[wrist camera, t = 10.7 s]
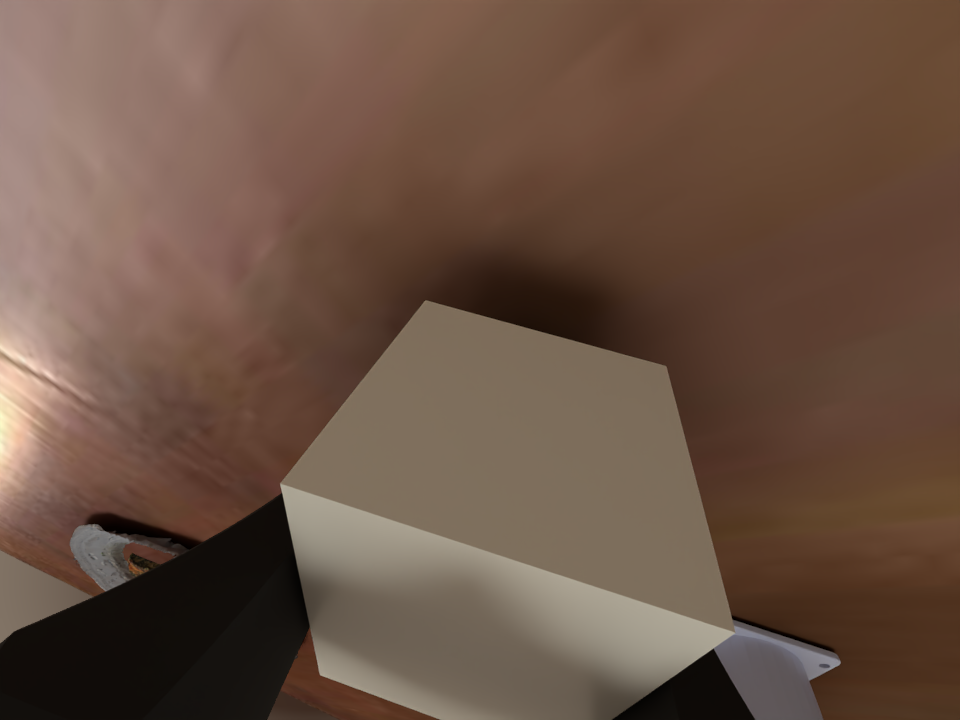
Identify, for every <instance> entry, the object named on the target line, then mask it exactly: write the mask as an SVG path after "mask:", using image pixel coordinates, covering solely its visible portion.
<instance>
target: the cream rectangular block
mask: <svg viewBox="0 0 960 720" xmlns="http://www.w3.org/2000/svg"><path fill="white" fill-rule="evenodd" d="M280 485H281V489H282V494H283V499H284V504H285V509H286V513H287V518H288V523H289V528H290V533H291V538H292V542H293V547H294V552H295V557H296V562H297V566H298V571H299V576H300V581H301V586H302V590H303V595H304V600H305V605H306V610H307V615H308V619H309V624H310V629H311V634H312V639H313V643H314V648H315V653H316V658H317V663H318V667H319V672H320V675H321V676H324V677H327V678H330V679H332V680H335V681H338V682H340V683H343V684H346V685H348V686H351V687H354V688H357V689H359V690H362V691H365V692H367V693H370V694H373V695H375V696H378V697H381V698H384V699H386V700H389V701H392V702H394V703H397V704H400V705H402V706H405V707H408V708H411V709H413V710H416V711H419V712H421V713H424V714H427V715H430V716H432V717H435V718H438V719H440V720H612V719H613V718H615V717H616V716H618V715H619V714H621V713H622V712H623V711H625V710H626V709H628V708H629V707H631V706H632V705H633V704H635V703H636V702H638V701H639V700H641V699H642V698H643V697H645V696H646V695H648V694H649V693H651V692H652V691H653V690H655V689H656V688H658V687H659V686H660V685H662V684H663V683H665V682H666V681H668V680H669V679H670V678H672V677H673V676H675V675H676V674H678V673H679V672H680V671H682V670H683V669H685V668H686V667H688V666H689V665H690V664H692V663H693V662H695V661H696V660H698V659H699V658H700V657H702V656H703V655H705V654H706V653H708V652H709V651H710V650H712V649H713V648H715V647H716V646H718V645H719V644H720V643H722V642H723V641H725V640H726V639H728V638H729V637H730V636H732V635H733V634H735V633H736V632H735V628H734V624H733V620H732V617H731V613H730V609H729V605H728V601H727V597H726V593H725V590H724V586H723V582H722V578H721V574H720V570H719V567H718V563H717V559H716V555H715V551H714V547H713V544H712V540H711V536H710V532H709V528H708V524H707V521H706V517H705V513H704V509H703V505H702V501H701V497H700V494H699V490H698V486H697V482H696V478H695V474H694V471H693V467H692V463H691V459H690V455H689V451H688V448H687V444H686V440H685V436H684V432H683V428H682V425H681V421H680V417H679V413H678V409H677V405H676V402H675V398H674V394H673V390H672V386H671V382H670V378H669V375H668V371H667V367H666V366H664V365H660V364H657V363H653V362H649V361H646V360H642V359H638V358H635V357H631V356H627V355H624V354H620V353H616V352H613V351H609V350H606V349H602V348H598V347H595V346H591V345H587V344H584V343H580V342H576V341H573V340H569V339H565V338H562V337H558V336H554V335H551V334H547V333H543V332H540V331H536V330H532V329H529V328H525V327H521V326H518V325H514V324H510V323H507V322H503V321H500V320H496V319H492V318H489V317H485V316H481V315H478V314H474V313H470V312H467V311H463V310H459V309H456V308H452V307H448V306H445V305H441V304H437V303H434V302H430V301H426V300H425V301H424V303H423V304H422V305H421V306H420V308H419V309H418V310H417V312H416V313H415V314H414V315H413V317H412V318H411V319H410V320H409V322H408V323H407V324H406V325H405V327H404V328H403V329H402V330H401V332H400V333H399V334H398V336H397V337H396V338H395V339H394V341H393V342H392V343H391V344H390V346H389V347H388V348H387V349H386V351H385V352H384V353H383V355H382V356H381V357H380V358H379V360H378V361H377V362H376V363H375V365H374V366H373V367H372V368H371V370H370V371H369V372H368V373H367V375H366V376H365V377H364V379H363V380H362V381H361V382H360V384H359V385H358V386H357V387H356V389H355V390H354V391H353V392H352V394H351V395H350V396H349V397H348V399H347V400H346V401H345V403H344V404H343V405H342V406H341V408H340V409H339V410H338V411H337V413H336V414H335V415H334V416H333V418H332V419H331V420H330V421H329V423H328V424H327V425H326V427H325V428H324V429H323V430H322V432H321V433H320V434H319V435H318V437H317V438H316V439H315V440H314V442H313V443H312V444H311V445H310V447H309V448H308V449H307V451H306V452H305V453H304V454H303V456H302V457H301V458H300V459H299V461H298V462H297V463H296V464H295V466H294V467H293V468H292V470H291V471H290V472H289V473H288V475H287V476H286V477H285V478H284V480H283V481H282V482H281V483H280Z"/></svg>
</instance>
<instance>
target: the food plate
mask: <svg viewBox="0 0 960 720" xmlns="http://www.w3.org/2000/svg"><path fill="white" fill-rule="evenodd" d="M98 529H99V530H98ZM102 530H103V529H102V528H101V526H99V525H98V524H97V525H95V524H92V525H91V524H89V525H86V524H85V525H82V526H81V525H80V526H79V527H78V528H76V529H75V532H74V533H73V536H72V538H71V541H70V542H71V543H70V546H71V551H72V552H73V554H74V556H75V559H77V560H78V563H80V567H81V568H82V570H84V571H86V574H88V575H89V576H90V577H91V578H93V579H94V580H95V582H97V584H98V585H99V586H100V587H101V588H103V589H104V590H105V591H108V590H110V589H112V588H114V587H116V586H118V585H121V584H123V583H125V582H127V581H129V580H131V579H133V578H135V577H137V576H139V575H141V574H143V573H145V572H147V571H149V570H151V569H153V568H155V567H157V566H159V565H160V564H157V563H155V562H152V561H149V560H147V559H145V558H142V557H139V556H137V555H135V554H131V555H130V558H129V560H128V562H127V561H126V560H124V557H123V556H124V555H123V553H122V551H123V549H122V548H124V547H125V544H129V543H130V542H135V543H137V544H141V545H145V546H146V545H147V547H150V546H151V547H150V548H154V549H157V550H160V551H162V552H164V553H165V552H168V553H170V554H172V555H174V554H176V557H177V556H179V555H181V554H182V553H184V552H186V551H188V550H189V549H187V548H185V547H184V546H182V545H181V544H174V543H172V542H171V541H170V540H171V538H155V537H146V536H144V535H138V534H132V535H128V534H126V533H124V534H116V533H115V532H116V531H113V532H106V531H104V530H103V531H102ZM75 559H73V560H75ZM128 563H129V564H128ZM297 654H298V653H297ZM297 657H298V656H297V655H296V657H295V659H296V658H297Z"/></svg>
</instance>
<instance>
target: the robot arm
mask: <svg viewBox="0 0 960 720" xmlns="http://www.w3.org/2000/svg"><path fill="white" fill-rule="evenodd" d="M733 624H734V628H735V632H736V633H735V634H733V635H732V636H730V637H729V638H728V639H726V640H725V641H723V642H722V643H720V644H719V645H718V646H716V647H715V648H713V649H712V650H710V651H709V652H708V653H706V654H705V655H703V656H702V657H700V658H699V659H698V660H696V661H695V662H693V663H692V664H690V665H689V666H688V667H686V668H685V669H683V670H682V671H680V672H679V673H678V674H676V675H675V676H673V677H672V678H670V679H669V680H668V681H666V682H665V683H663V684H662V685H660V686H659V687H658V688H656V689H655V690H653V691H652V692H651V693H649V694H648V695H646V696H645V697H643V698H642V699H641V700H639V701H638V702H636V703H635V704H633V705H632V706H631V707H629V708H628V709H626V710H625V711H623V712H622V713H621V714H619V715H618V716H616V717H615V718H613V719H612V720H823V717H822V714H821V712H820V709H819V706H818V704H817V701H816V698H815V696H814V693H813V690H812V688H811V685H810V682H809V681H810V680H811V679H813V678H815V677H817V676H819V675H821V674H823V673H825V672H827V671H829V670H831V669H833V668H835V667H837V666H838V665H840V663H841V662H840V659H839V657H838V655H837V654H835V653H833V652H831V651H828V650H824V649H821V648H818V647H815V646H812V645H809V644H806V643H803V642H800V641H797V640H794V639H791V638H788V637H785V636H781V635H778V634H775V633H772V632H769V631H766V630H763V629H760V628H757V627H754V626H751V625H748V624H745V623H742V622H738V621H735V620H733ZM309 627H310V624H309V619H308V615H307V610H306V605H305V600H304V595H303V590H302V586H301V581H300V576H299V571H298V566H297V562H296V557H295V552H294V547H293V542H292V538H291V533H290V528H289V523H288V518H287V513H286V509H285V504H284V499H283V494H282V493H281V494H280V495H278V496H277V497H275V498H274V499H273V500H271V501H270V502H268V503H267V504H265V505H264V506H262V507H261V508H259V509H258V510H256V511H254V512H253V513H251V514H250V515H248V516H247V517H245V518H243V519H242V520H240V521H238V522H237V523H235V524H233V525H232V526H230V527H229V528H227V529H225V530H224V531H222V532H220V533H218V534H217V535H215V536H213V537H211V538H209V539H208V540H206V541H204V542H202V543H201V544H199V545H197V546H195V547H194V548H192V549H190V550H188V551H186V552H184V553H182V554H181V555H179V556H177V557H175V558H173V559H171V560H169V561H167V562H165V563H163V564H161V565H159V566H157V567H155V568H153V569H151V570H149V571H147V572H145V573H143V574H141V575H139V576H137V577H135V578H133V579H131V580H129V581H127V582H125V583H123V584H121V585H118V586H116V587H114V588H112V589H110V590H108V591H106V592H104V593H101V594H99V595H97V596H95V597H93V598H90V599H88V600H86V601H83V602H81V603H79V604H76V605H74V606H72V607H70V608H67V609H65V610H63V611H60V612H58V613H56V614H53V615H51V616H49V617H47V618H44V619H42V620H40V621H38V622H35V623H33V624H31V625H28V626H26V627H23V628H21V629H19V630H17V631H15V632H13V633H12V634H11V635H10V636H9V637H7V638H6V639H5V640H4V641H3V642H2V643H0V720H267V719H268V716H269V714H270V712H271V710H272V707H273V705H274V703H275V701H276V698H277V696H278V694H279V692H280V689H281V687H282V685H283V683H284V681H285V679H286V676H287V674H288V672H289V670H290V668H291V666H292V663H293V661H294V659H295V657H296V655H297V653H298V651H299V648H300V646H301V644H302V642H303V640H304V638H305V636H306V634H307V631H308V629H309Z"/></svg>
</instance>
